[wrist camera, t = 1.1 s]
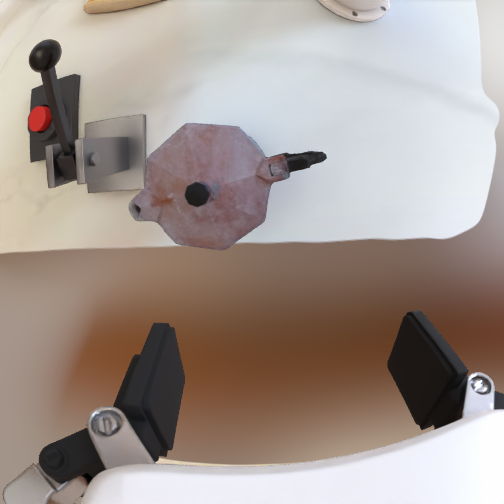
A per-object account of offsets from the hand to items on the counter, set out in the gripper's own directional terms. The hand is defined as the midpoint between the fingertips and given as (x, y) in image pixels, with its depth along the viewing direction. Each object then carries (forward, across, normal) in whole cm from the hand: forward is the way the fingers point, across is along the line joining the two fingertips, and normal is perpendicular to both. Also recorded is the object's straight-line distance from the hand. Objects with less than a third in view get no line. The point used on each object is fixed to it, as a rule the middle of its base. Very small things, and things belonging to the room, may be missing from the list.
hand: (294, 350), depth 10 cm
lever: (+16, +19, -13) cm, 28 cm away
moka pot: (+28, +3, -5) cm, 29 cm away
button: (+25, +30, -15) cm, 42 cm away
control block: (+28, +30, -14) cm, 44 cm away
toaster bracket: (+28, +19, -7) cm, 35 cm away
